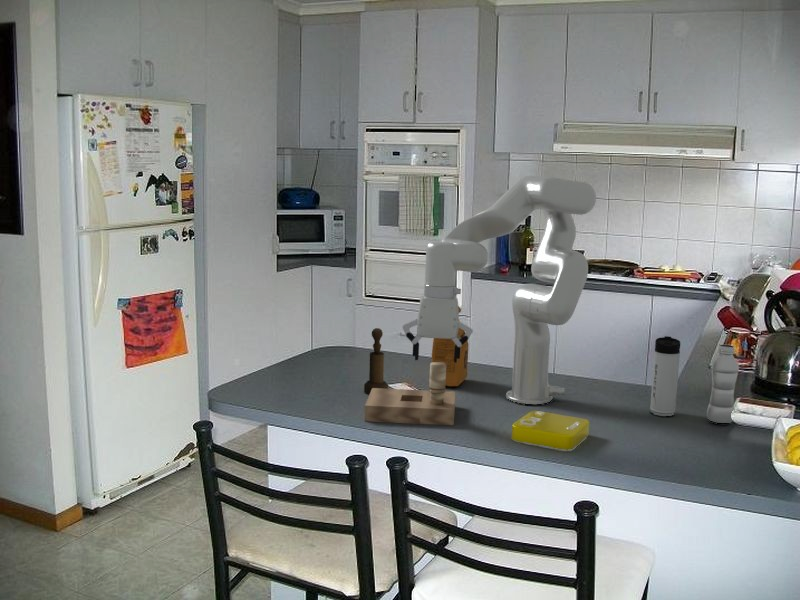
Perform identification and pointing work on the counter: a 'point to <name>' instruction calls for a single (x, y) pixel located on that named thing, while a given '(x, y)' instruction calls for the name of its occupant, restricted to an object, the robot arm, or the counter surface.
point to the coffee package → (451, 358)
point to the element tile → (550, 429)
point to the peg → (437, 382)
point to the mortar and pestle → (376, 365)
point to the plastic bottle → (723, 385)
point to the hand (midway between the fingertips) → (436, 360)
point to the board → (409, 407)
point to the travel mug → (665, 375)
